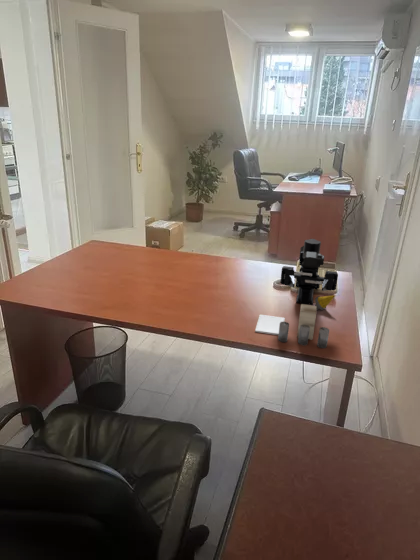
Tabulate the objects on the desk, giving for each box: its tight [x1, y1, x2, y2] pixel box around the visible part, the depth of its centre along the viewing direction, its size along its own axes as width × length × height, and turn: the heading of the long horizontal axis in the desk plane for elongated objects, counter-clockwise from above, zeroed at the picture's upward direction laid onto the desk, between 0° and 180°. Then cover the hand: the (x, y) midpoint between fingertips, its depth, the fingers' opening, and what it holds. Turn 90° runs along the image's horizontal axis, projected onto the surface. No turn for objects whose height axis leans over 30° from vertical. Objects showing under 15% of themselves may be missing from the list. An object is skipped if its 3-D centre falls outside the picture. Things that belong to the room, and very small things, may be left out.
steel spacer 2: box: [316, 326, 330, 349], centre depth 127 cm, size 3×3×6 cm
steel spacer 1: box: [277, 321, 290, 343], centre depth 129 cm, size 3×3×6 cm
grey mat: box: [254, 314, 286, 336], centre depth 139 cm, size 12×9×1 cm
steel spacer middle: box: [297, 324, 310, 346], centre depth 128 cm, size 3×3×6 cm
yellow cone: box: [314, 294, 336, 311], centre depth 151 cm, size 5×5×10 cm
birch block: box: [296, 303, 317, 341], centre depth 132 cm, size 5×5×10 cm
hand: (308, 287), depth 129 cm, fingers open, 9 cm apart
